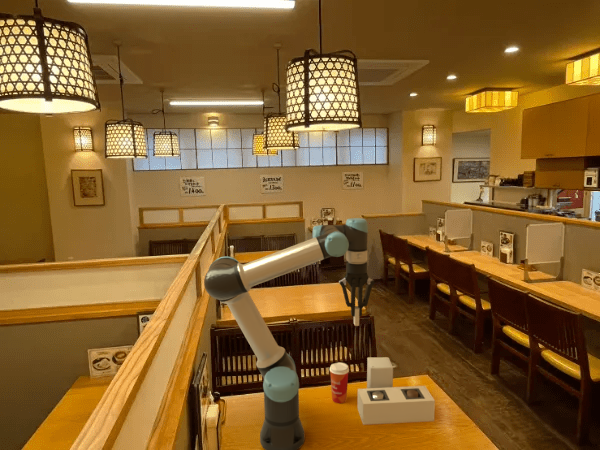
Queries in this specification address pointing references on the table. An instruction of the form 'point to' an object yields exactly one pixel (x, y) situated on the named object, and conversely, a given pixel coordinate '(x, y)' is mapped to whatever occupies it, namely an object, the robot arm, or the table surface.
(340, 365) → the paper cup
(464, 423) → the table surface
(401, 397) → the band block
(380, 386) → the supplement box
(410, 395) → the walnut peg
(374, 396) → the metal peg
